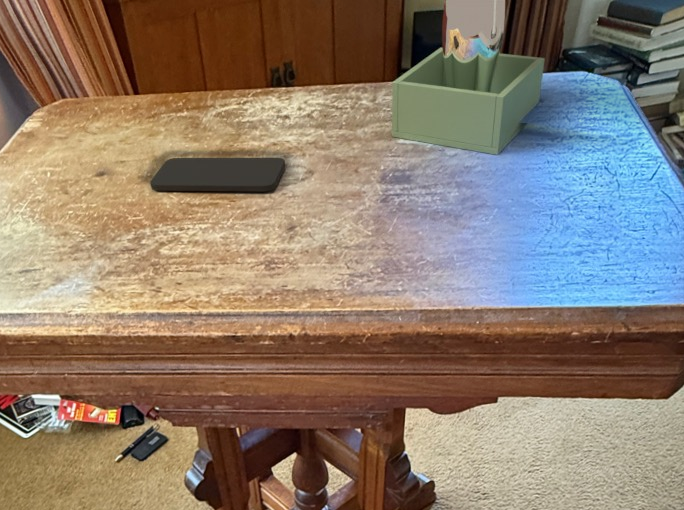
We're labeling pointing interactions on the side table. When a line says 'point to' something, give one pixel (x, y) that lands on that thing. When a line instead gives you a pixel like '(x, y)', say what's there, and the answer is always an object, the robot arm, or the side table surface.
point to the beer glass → (472, 42)
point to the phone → (218, 174)
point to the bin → (465, 104)
